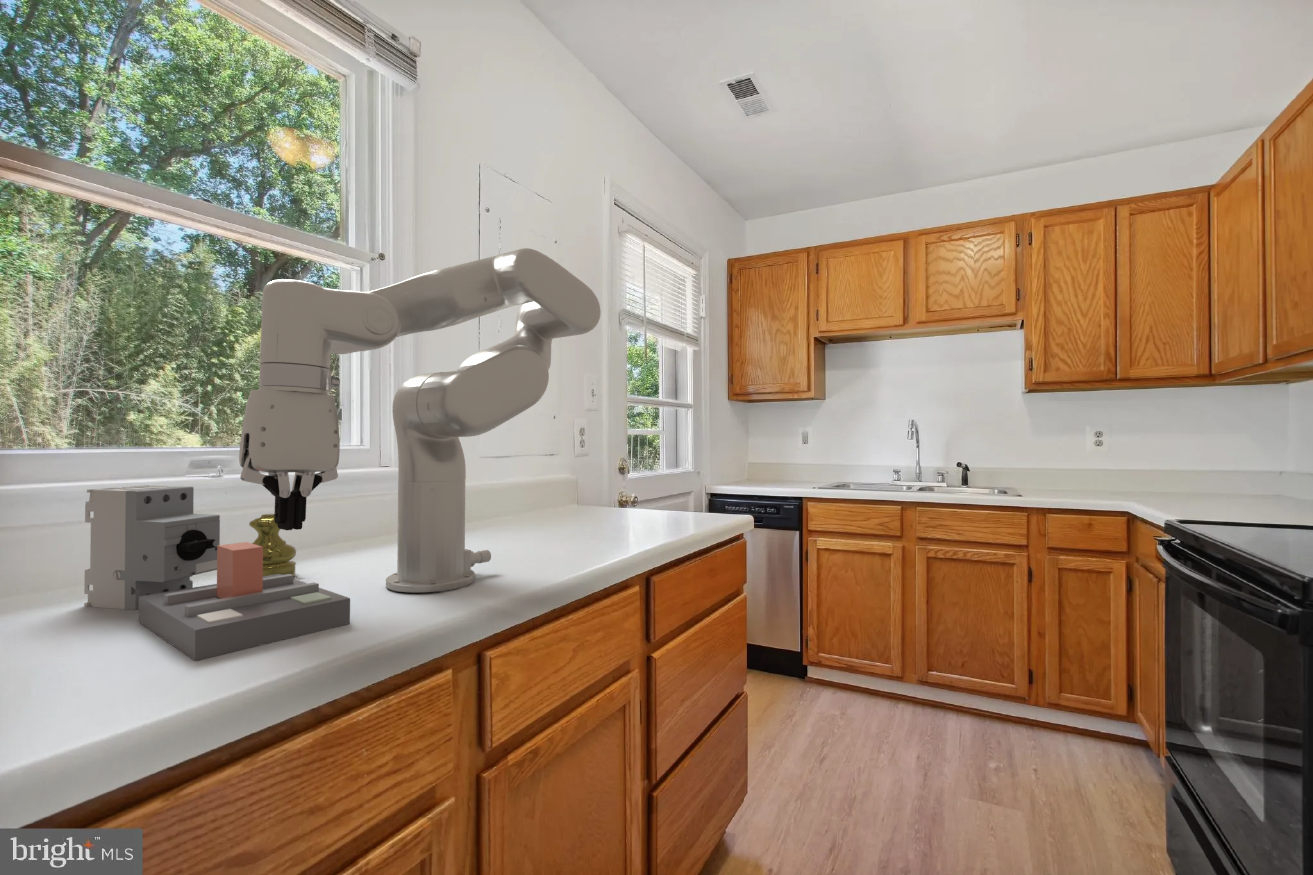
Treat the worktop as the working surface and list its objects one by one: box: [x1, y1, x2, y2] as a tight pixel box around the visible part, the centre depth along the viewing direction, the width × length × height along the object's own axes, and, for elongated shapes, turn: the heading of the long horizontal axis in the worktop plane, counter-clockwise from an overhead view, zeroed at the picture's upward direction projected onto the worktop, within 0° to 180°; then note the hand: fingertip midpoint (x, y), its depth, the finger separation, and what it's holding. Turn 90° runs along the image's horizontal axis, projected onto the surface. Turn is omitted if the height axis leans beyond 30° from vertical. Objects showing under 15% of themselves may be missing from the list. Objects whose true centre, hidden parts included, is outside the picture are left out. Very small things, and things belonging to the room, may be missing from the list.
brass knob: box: [248, 513, 297, 578], centre depth 92 cm, size 7×7×10 cm
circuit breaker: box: [83, 484, 221, 611], centre depth 79 cm, size 8×14×15 cm, turn 78°
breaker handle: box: [216, 541, 263, 599], centre depth 70 cm, size 3×5×6 cm, turn 53°
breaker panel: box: [138, 574, 351, 661], centre depth 70 cm, size 15×20×4 cm
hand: (289, 528), depth 74 cm, fingers closed
